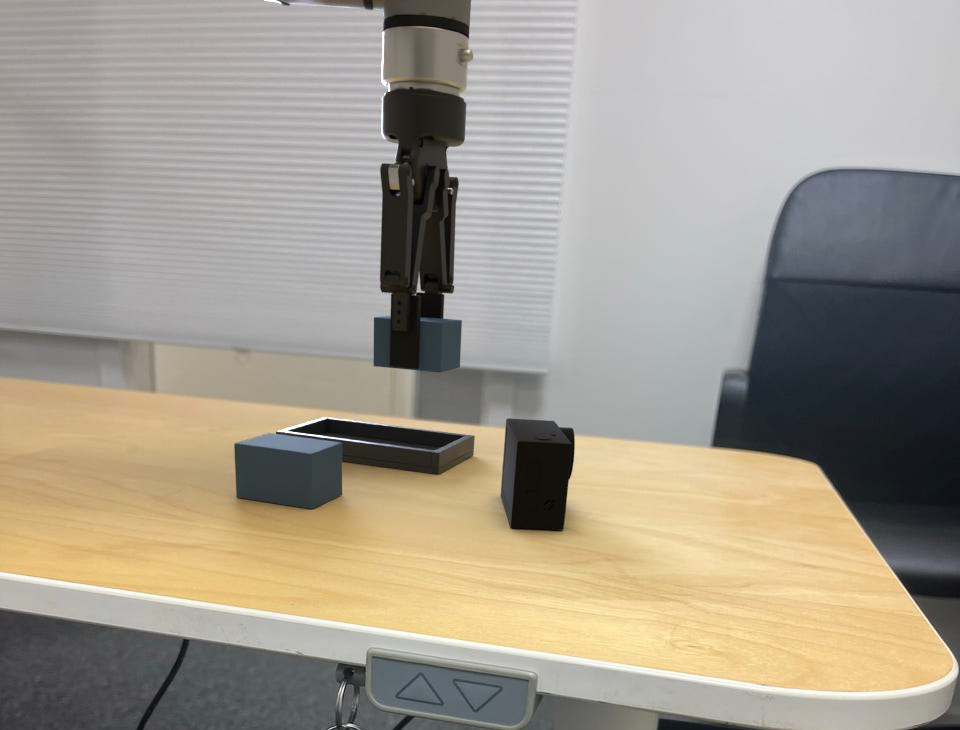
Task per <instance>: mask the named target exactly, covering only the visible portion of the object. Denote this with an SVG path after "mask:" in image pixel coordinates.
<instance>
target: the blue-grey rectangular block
mask: <svg viewBox="0 0 960 730" xmlns="http://www.w3.org/2000/svg"><path fill="white" fill-rule="evenodd" d="M233 445H234V468H235V469H234V471H235V494H236V495H235V496H236V498H238V499H245V500H250V501H257V502H264V503H270V504H275V505H283V506H289V507H295V508H296V507H298V508H301V509H302V508H304V509H308V510H313V509H316V508H317V507H319V506H321V505H323V504H326V503H327V502H330V501H332V500H334V499H336V498H338V497H340V496H342V495H343V461H342V443H341V442H333V441H326V440H318V439H311V438H303V437H296V436H288V435H281V434H276V433H273V432H272V433H271V432H268V433H264V434H261V435H258V436H254V437H251V438H248V439H244V440H241V441H238V442H234V444H233Z"/></svg>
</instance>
